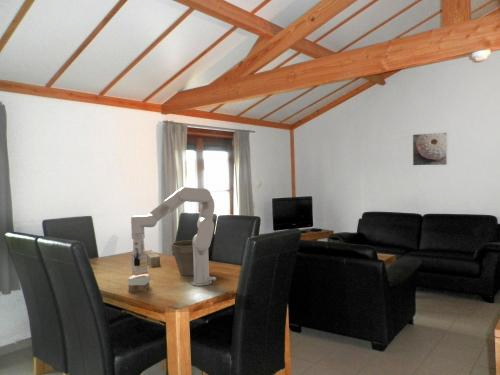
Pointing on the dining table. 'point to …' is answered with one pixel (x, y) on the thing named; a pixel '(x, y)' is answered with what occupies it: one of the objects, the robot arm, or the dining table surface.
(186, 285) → the dining table surface
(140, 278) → the tower top block
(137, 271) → the supplement box
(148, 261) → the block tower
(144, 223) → the robot arm
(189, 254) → the plant pot
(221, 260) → the dining table surface
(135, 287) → the tower bottom block
